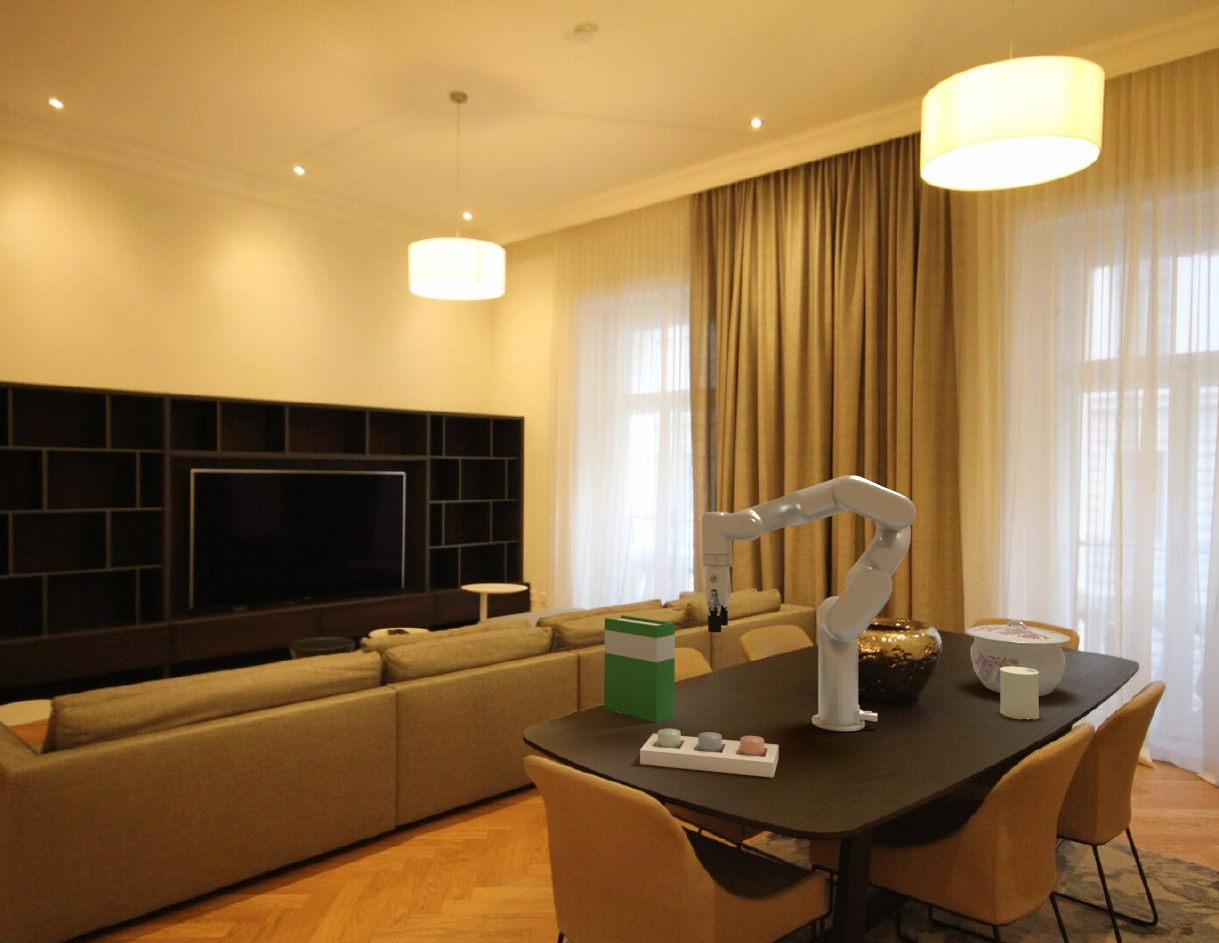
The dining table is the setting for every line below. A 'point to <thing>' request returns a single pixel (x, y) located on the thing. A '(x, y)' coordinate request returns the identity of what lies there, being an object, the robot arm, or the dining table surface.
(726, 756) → the button panel
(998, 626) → the chamber pot
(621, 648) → the hardback book
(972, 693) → the dining table surface
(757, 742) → the terracotta button
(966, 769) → the dining table surface
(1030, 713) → the can
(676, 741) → the sage button
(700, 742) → the grey button
